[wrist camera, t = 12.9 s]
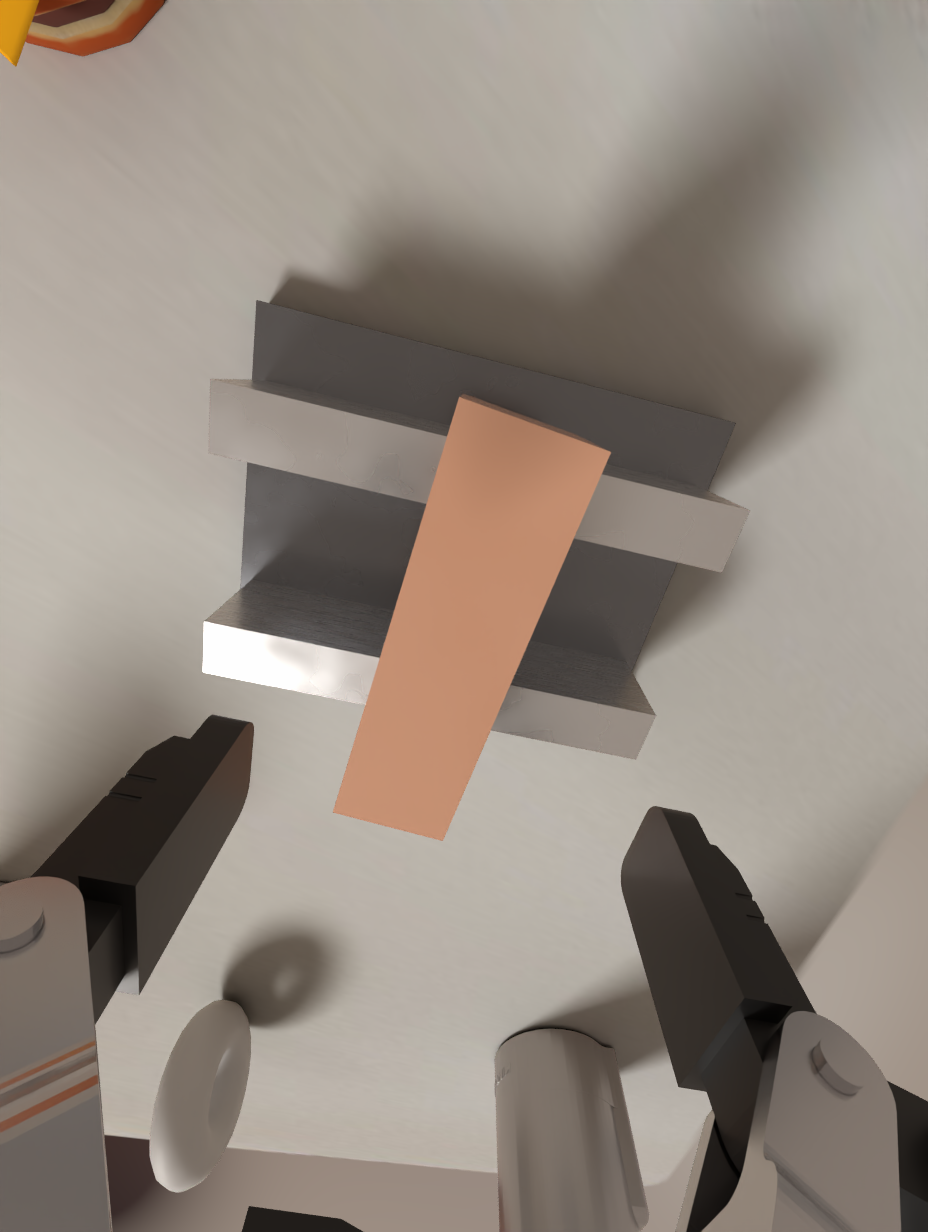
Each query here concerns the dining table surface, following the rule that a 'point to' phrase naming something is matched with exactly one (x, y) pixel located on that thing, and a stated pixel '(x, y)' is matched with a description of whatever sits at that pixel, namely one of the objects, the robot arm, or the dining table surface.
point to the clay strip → (466, 611)
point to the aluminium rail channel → (395, 503)
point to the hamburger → (71, 24)
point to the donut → (200, 1095)
